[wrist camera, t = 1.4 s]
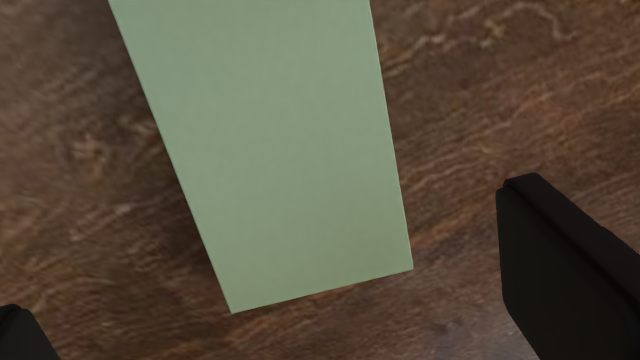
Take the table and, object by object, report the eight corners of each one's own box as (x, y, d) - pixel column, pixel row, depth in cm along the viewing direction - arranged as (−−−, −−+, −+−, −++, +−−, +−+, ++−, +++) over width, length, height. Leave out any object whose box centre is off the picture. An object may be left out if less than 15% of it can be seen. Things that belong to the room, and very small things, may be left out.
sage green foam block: (114, -41, 16) (92, -37, 14) (340, -97, 16) (352, -102, 14) (233, 277, 22) (231, 314, 20) (399, 236, 22) (414, 269, 20)
